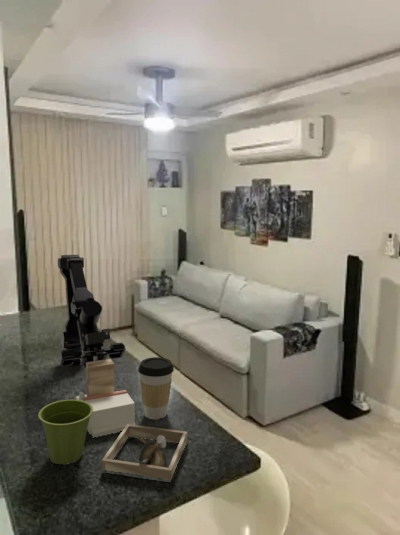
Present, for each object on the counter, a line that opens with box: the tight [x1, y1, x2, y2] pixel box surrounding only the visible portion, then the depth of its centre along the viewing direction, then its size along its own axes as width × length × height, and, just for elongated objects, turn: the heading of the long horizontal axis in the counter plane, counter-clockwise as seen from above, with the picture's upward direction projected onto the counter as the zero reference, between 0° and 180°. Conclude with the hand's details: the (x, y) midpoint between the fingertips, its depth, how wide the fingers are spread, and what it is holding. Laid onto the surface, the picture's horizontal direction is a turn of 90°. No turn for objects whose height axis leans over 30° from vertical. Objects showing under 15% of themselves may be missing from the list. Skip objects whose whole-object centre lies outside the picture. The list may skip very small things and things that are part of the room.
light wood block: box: [85, 358, 115, 397], centre depth 120 cm, size 5×7×12 cm, turn 117°
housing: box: [75, 389, 136, 439], centre depth 117 cm, size 22×12×6 cm, turn 27°
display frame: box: [101, 424, 188, 480], centre depth 98 cm, size 16×16×3 cm
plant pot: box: [37, 399, 93, 465], centre depth 96 cm, size 12×12×11 cm
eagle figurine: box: [137, 435, 167, 467], centre depth 95 cm, size 8×7×9 cm
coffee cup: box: [137, 356, 175, 420], centre depth 117 cm, size 10×10×15 cm
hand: (97, 380), depth 122 cm, fingers closed, pressing on light wood block
